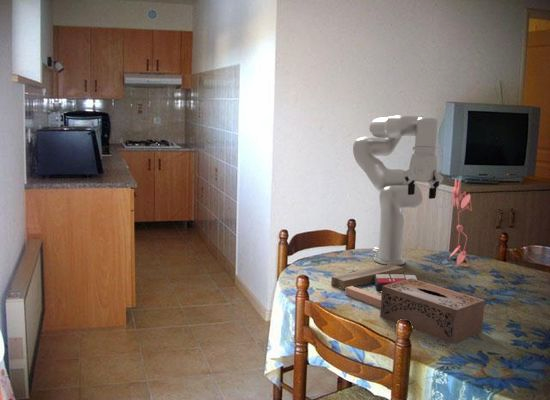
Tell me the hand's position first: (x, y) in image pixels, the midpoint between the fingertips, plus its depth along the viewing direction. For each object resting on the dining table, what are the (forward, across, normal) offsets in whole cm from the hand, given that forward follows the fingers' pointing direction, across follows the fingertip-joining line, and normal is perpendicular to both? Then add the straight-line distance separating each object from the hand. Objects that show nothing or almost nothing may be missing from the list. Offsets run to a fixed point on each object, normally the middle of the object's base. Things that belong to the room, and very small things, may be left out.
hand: (421, 196), depth 226 cm
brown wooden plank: (+30, -5, -21) cm, 37 cm away
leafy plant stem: (+31, -4, +28) cm, 42 cm away
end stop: (+30, +10, -39) cm, 50 cm away
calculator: (+31, +7, -19) cm, 37 cm away
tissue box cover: (+31, +36, -39) cm, 61 cm away
